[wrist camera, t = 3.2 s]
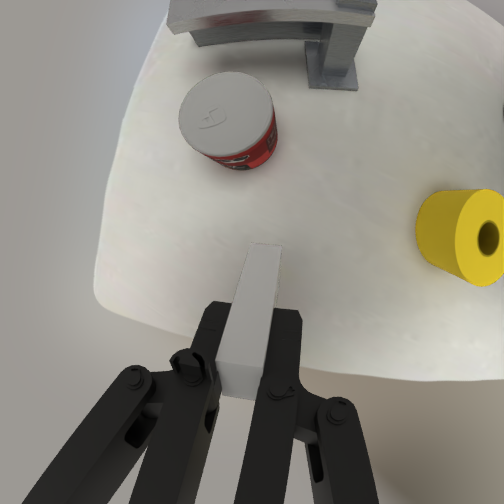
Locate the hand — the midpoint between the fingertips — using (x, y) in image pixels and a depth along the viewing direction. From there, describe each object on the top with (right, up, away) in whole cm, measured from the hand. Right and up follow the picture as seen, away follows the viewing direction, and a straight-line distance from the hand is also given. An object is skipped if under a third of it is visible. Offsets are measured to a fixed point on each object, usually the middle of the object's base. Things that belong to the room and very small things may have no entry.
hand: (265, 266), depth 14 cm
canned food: (-2, +14, +17) cm, 22 cm away
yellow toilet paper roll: (+24, +4, +16) cm, 29 cm away
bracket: (+2, +25, +14) cm, 29 cm away
